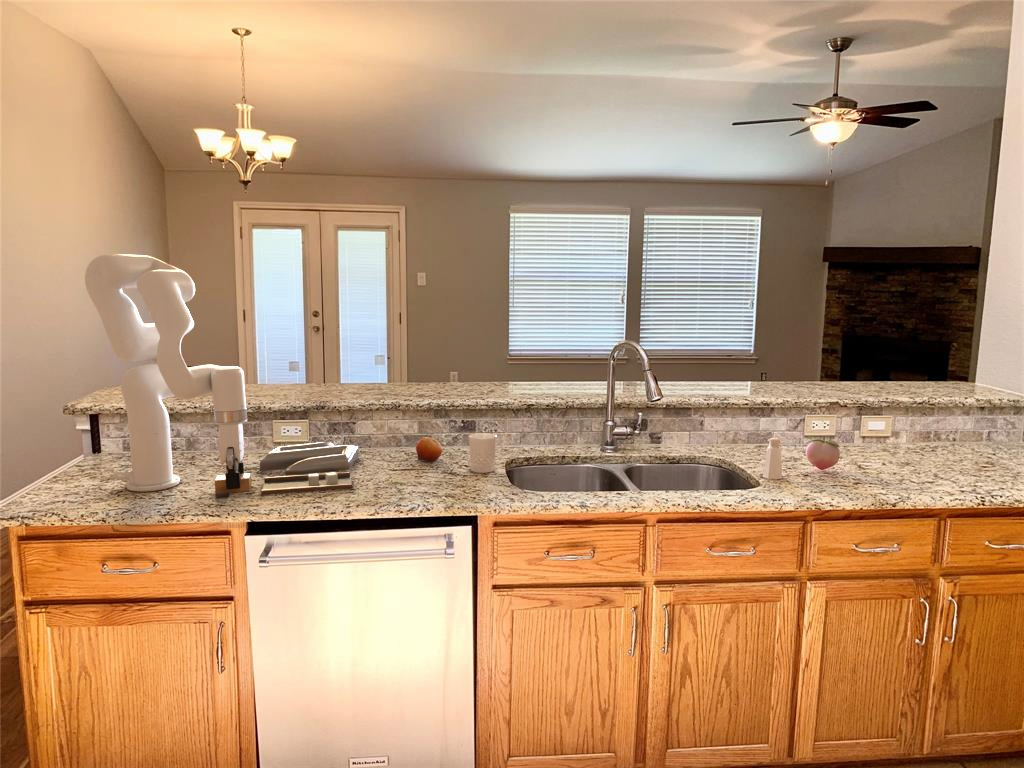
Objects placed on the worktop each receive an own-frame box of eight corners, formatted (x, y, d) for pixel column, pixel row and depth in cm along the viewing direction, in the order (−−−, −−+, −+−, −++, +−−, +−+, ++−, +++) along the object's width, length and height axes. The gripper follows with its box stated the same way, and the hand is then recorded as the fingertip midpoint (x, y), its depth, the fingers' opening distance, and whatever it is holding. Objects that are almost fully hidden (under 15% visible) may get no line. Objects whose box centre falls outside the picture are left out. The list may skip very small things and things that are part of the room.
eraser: (215, 497, 173) (214, 480, 173) (217, 492, 178) (217, 475, 177) (249, 495, 175) (249, 478, 175) (251, 490, 180) (250, 473, 179)
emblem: (308, 466, 183) (238, 451, 197) (309, 486, 184) (239, 470, 198) (380, 445, 207) (313, 433, 221) (381, 462, 207) (314, 450, 221)
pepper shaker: (758, 476, 197) (761, 438, 195) (767, 473, 201) (769, 435, 199) (777, 480, 193) (780, 442, 192) (785, 477, 197) (788, 438, 196)
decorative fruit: (842, 469, 206) (844, 436, 204) (835, 475, 199) (838, 441, 198) (808, 464, 211) (811, 431, 210) (801, 469, 205) (803, 436, 203)
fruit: (412, 451, 215) (425, 430, 213) (434, 465, 215) (447, 443, 214) (407, 458, 207) (421, 436, 206) (430, 472, 207) (444, 450, 206)
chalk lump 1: (308, 485, 180) (308, 476, 180) (308, 483, 182) (308, 473, 182) (318, 485, 181) (318, 475, 180) (318, 482, 183) (318, 473, 183)
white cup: (478, 475, 196) (478, 440, 194) (463, 468, 202) (463, 435, 200) (501, 470, 200) (501, 436, 199) (486, 464, 206) (486, 431, 205)
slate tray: (261, 499, 173) (261, 490, 172) (264, 485, 184) (264, 477, 184) (352, 492, 179) (352, 484, 178) (350, 479, 190) (350, 471, 190)
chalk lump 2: (328, 484, 181) (328, 475, 181) (325, 482, 183) (325, 473, 183) (337, 483, 182) (337, 474, 182) (335, 481, 184) (334, 471, 184)
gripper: (218, 411, 181) (223, 475, 183) (209, 424, 164) (215, 494, 167) (249, 409, 183) (254, 473, 185) (243, 422, 166) (248, 491, 169)
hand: (235, 483), depth 176 cm, fingers open, 9 cm apart
